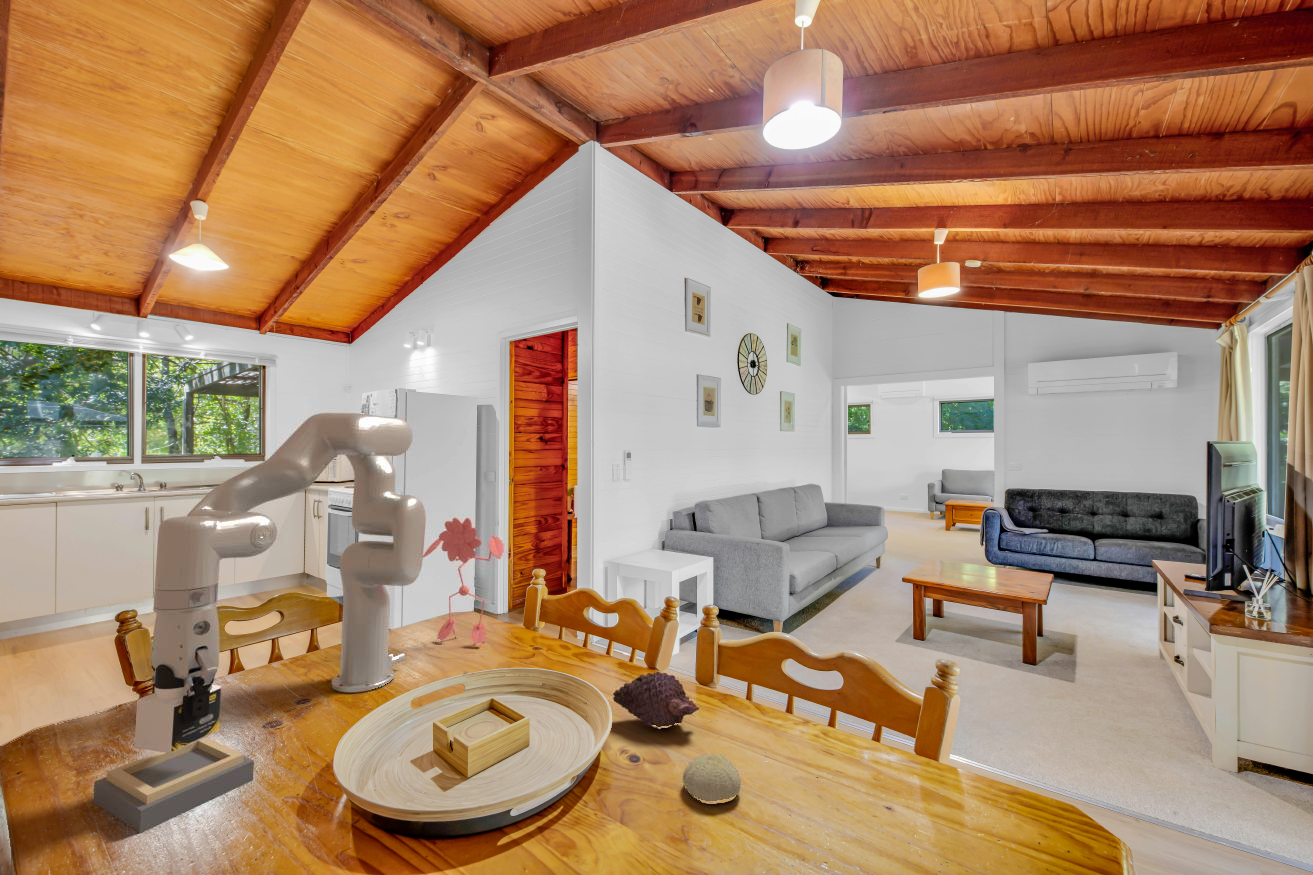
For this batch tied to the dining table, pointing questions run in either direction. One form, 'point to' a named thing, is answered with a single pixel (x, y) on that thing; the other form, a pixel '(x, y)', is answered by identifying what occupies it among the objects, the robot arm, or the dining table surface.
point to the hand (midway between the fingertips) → (179, 712)
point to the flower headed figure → (462, 545)
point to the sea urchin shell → (711, 778)
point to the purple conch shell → (655, 699)
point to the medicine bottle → (172, 715)
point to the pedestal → (171, 783)
